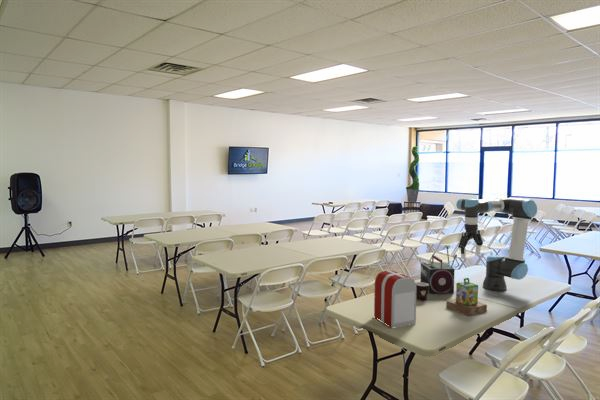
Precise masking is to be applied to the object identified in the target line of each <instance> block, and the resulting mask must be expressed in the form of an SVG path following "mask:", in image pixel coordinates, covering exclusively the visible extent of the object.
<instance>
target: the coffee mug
mask: <svg viewBox="0 0 600 400" xmlns="http://www.w3.org/2000/svg"><path fill="white" fill-rule="evenodd" d="M415 283H416V301H420V300H421V301H420V302H423V301H424V300H425V301H427V298H428V294H429V293H428V286H429V284H427V283H424V282H420V281H415ZM425 301H424V302H425Z"/></svg>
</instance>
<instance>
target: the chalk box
mask: <svg viewBox="0 0 600 400" xmlns="http://www.w3.org/2000/svg"><path fill="white" fill-rule="evenodd" d="M455 285H456V287H455V291H456V292H455V293H456V294H455V299H456V302H459V303H462V304H465V305H468V306H469V305H473V304H477V303H478V302H479V301H478V300H479V284H475V283H473V282H471V281H470V278H469V277H466V278H463V281H460V282H457V283H456V284H455Z"/></svg>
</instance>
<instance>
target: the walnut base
mask: <svg viewBox="0 0 600 400" xmlns="http://www.w3.org/2000/svg"><path fill="white" fill-rule="evenodd" d="M445 302H446V305H445V307H446V308H448V309H450V310H453V311H455V312H457V313H459V314H463V315H465V316H468V317H470V316H473V315H476V314H481V313H485V312H487V311H488V310H487V309H488V305H487V304H486V303H483V302H480V301H478V303H477V304H473V305H469V306H468V305H465V304H462V303H459V302H456V298H453V299H449V300H448V299H447V300H446V301H445Z"/></svg>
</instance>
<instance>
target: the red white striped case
mask: <svg viewBox="0 0 600 400" xmlns="http://www.w3.org/2000/svg"><path fill="white" fill-rule="evenodd" d="M373 293H374V298H373V299H374V301H373V302H374V307H373V309H374V310H373V317H374V316H375V317H376V318H378V319H380V320H381V321H382V322H384V323H386V324H387V325H389V326H390V327H392V328H393V327H399V328H401V327H400V326H403V327H406V326H405V325H408V326H410V325H409V324H413V325H415V324H414V323H416V320H417V317H416V316H417V299H416V281H415V280H414V278H412V277H410V276H408V275H405V273H401V272H399V271H395V270H393V269H392V270H391V269H390V270H389V269H385V270H382V271H380V272H379V273H378V274H377V275H376V276H375V280H374V292H373ZM376 318H375V319H376ZM382 322H381V323H382ZM387 325H386V326H387ZM390 327H389V328H390ZM392 328H391V329H392Z"/></svg>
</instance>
